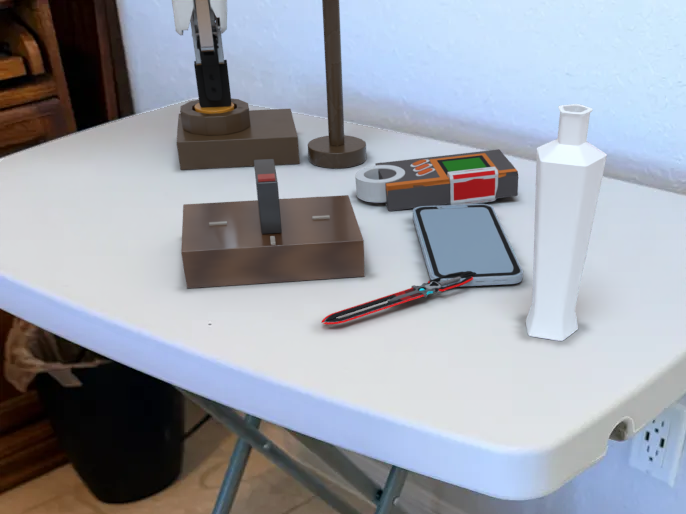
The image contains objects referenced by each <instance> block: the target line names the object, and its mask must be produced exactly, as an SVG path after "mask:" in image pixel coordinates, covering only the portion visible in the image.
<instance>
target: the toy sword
mask: <svg viewBox="0 0 686 514" xmlns="http://www.w3.org/2000/svg"><path fill="white" fill-rule="evenodd" d="M475 274H476V273H475V272H472V271H466V272H463V271H462V272H457V273H452V274H448V275H445V276H442V277H439V278H436V279H433V280H431V279H430V280H428V281H427V282H423V283H422V284H421V285H415V284H414V285H411V287H410V288H406V289H404V290H401V291H397V292H394V293H391V294H388V295H385V296H382V297H379V298H376V299H373V300H369V301H365V302H363V303H360V304H357V305H354V306H350V307H348V308H344V309H341V310H338V311H335V312H332V313H329V314H328V315H327V316H325V317H324V318H323V319H322V320H321V324H322V325H338V324H343V323H346V322H350V321H353V320H356V319H359V318H362V317H365V316H368V315H371V314H374V313H378V312H380V311H383V310H386V309H390V308H392V307H395V306H398V305H401V304H405V303H407V302H410V301H414V300H417V299H420V298H422V297H423V298H427V297H428V295H433V294H436V293H437V292H441V293H444V292H445V291H448V290H451V289H455V288H459V286H460V287H463V286H462V285H464V284H466V283H468V282H470V281H471V280H473V277H472V276H473V275H475ZM457 275H459V277H456V278H453V279H450V280H447V281H443V282H440V283H439V281H440V279H443V278H446V277H450V276H457ZM463 278H465V279H464V280H463V281H461V282H458V283H455V284H452V285H449V286H446V287H441V286H444V285H447V284H450V283H453V282H457V281H460V279H463ZM376 305H377V306H376ZM351 313H352V314H351ZM348 314H349V315H348Z"/></svg>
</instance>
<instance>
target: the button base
mask: <svg viewBox="0 0 686 514" xmlns="http://www.w3.org/2000/svg"><path fill="white" fill-rule="evenodd" d="M231 102H232V103H233V104H234V108H235V109H234V110H232V111H229V112H224V113H212V114H207V113H199V112H196V111H195V105H196V104H197V103H199V99H195V100H191V101H190V100H189V101H188V102H186V103H184V104H182V105H180V108H179V111H180V112H179V113H178V114H177V115H178V117H177V129H176V130H177V131H176V148H177V155H178V161H179V162H178V163H179V168H180V170H181V171H185V170H186V171H187V170H205V169H207V170H208V169H226V168H244V167H254V160H262V159H273V160H274V164H275V166H282V165H283V166H285V165H300V163H301V162H300V150H299V136H298V133H297V129H296V124H295V120H294V117H293V112H292V109H291V108H274V109H273V108H272V109H270V108H269V109H251V110H250V107H249V102H246V101H245V100H241V99H239V98H232V97H231Z"/></svg>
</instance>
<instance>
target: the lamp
mask: <svg viewBox="0 0 686 514" xmlns="http://www.w3.org/2000/svg"><path fill="white" fill-rule="evenodd" d="M321 4H322V6H321V7H322V24H323V25H322V26H323V45H324V68H325V69H324V70H325V84H326V85H325V86H326V87H325V90H326V108H327V109H326V111H327V131H328V135H324V136H319V137H315V138H313V139H311V140H310V141H308V143H307V156H308V162H310V164H312V165H313V166H317V167H320V168H327V169H346V168H353V167H356V166H359V165H361V164H363V163H365V161H366V160H367V143H366V141H365V140H364V139H362V138H360V137H357V136H353V135H345V118H344V117H345V116H344V92H343V91H344V90H343V89H344V88H343V62H342V40H341V39H342V38H341V37H342V35H341V13H340V12H341V10H340V0H321Z"/></svg>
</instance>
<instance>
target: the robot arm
mask: <svg viewBox="0 0 686 514" xmlns="http://www.w3.org/2000/svg"><path fill="white" fill-rule="evenodd" d="M171 5H172V13H173V20H174V29H175V30H174V31H175V32H176V33H177V35H179V36H184V31H189V28H191V37H192V42H193V50H194V51H193V52H194V57H195V60H194V61H193V65H194V66H193V67H194V72H195V73H194V74H195V80H196V89H197V97H198V100H199V104H200V106H201V107H202V108H206V107H229V106H230V105H231V98H232V93H231V86H230V85H231V84H230V77H229V68H228V60H227V59H225V53H224V45H223V36H222V35H223V34H224V33H225V32H226V31H227V30H228V0H171Z"/></svg>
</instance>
